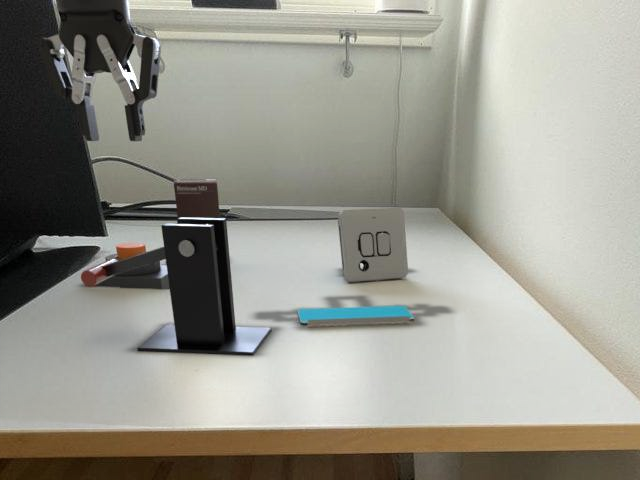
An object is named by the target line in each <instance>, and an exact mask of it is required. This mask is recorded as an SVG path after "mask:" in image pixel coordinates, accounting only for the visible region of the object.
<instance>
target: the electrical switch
mask: <svg viewBox="0 0 640 480" xmlns="http://www.w3.org/2000/svg"><path fill="white" fill-rule="evenodd" d="M337 217H338V219H337V225H338V227H337V228H338V236H339V238H338V239H339V247H340V257H341V268H342V278H343V279H344V280H345V282H347V283H361V282H362V283H363V282H372V281H373V282H374V281H386V280H398V279H404V278H406V277H407V276H408V274H409V265H408V264H409V263H408V250H407V235H406V221H405V220H406V219H405V212H404V209H403V208H401V207H387V208H386V207H385V208H383V207H382V208H365V209H363V208H362V209H343V210H341V211H340V212H339V213H338V215H337ZM361 264H362V266H361ZM361 267H362V268H361Z"/></svg>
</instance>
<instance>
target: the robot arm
mask: <svg viewBox="0 0 640 480" xmlns="http://www.w3.org/2000/svg"><path fill="white" fill-rule="evenodd" d="M55 5H56V10H57V13H58V17H59V21H60V23H59V28H58V33H57V34H55V35H52V36H48V37H41V36H40V37H37V39H36V42H35V43H36V47H37V50H38V52H39V54H40V57H41V59H42V62H43V64H44V67H45V69H46V72H47V74H48V77H49V79H50V82H51V84H52V87H53V90H54V91H55V94H56V96H57V97H59V98H61V99H66V100H68V101H71V102H72V103H73V104H74V107H75V111H76V116H77V121H78V127H79V128H78V129H79V132H80V134H81V136H84V138H85V140H86V142H97V141H99V140H100V134H99V129H98V123H97V116H96V110H95V105H93V104H92V103H91V102H92V98H93V89H94V85H95V84H96V80H97V74H102V73H110V74H111V75H112V78H113V80H114V81H115V83H116V84H117V85H118V87H119V90H120V92H121V94H122V97H123V99H124V101H125V103H126V104H125V105H124V112H125V113H124V114H125V118H126V119H125V120H126V127H127V132H128V133H127V134H128V139H129V141H130V142H142V140H143V136H145V135H146V123H145V118H144V117H145V116H144V111H143V106H144V103H145V102H146V101H149V100H151V99H155V98H156V97H157V95H158V86H159V85H158V84H159V75H160V66H161V65H160V63H161V52H162V43H161V41H160V40H159V39H157V38H154V37H150V36H142V35H139V34H137V33H136V31H135V29H134V27H133V25H132V22H131V15H130V4H129V0H55ZM64 47H65V49H66V50H67V51H68V53H69V55H71V57H72V58H73V60H72V68H71V77H70V73H69V71H68V69H67V66H66V63H65V61H64V57H65V51H64ZM135 48H136V50H137V51H136V52H137V55H138V57H139V58H140V70H139V71H140V72H139V82H138V83H137V78H136V75H135V73H134V70H133V67H132V66H131V63H130V61H129V60H130V57H131V55H132V54H133V51H134V49H135Z"/></svg>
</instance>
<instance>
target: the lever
mask: <svg viewBox="0 0 640 480" xmlns="http://www.w3.org/2000/svg"><path fill="white" fill-rule="evenodd" d="M205 225H210V224H209V223H208V224H205ZM215 244H216V251H218V250H219V248H218V245H217V242H216V240H215ZM164 260H166V257H165V250H164V246H161V247H158V248H155V249H151V250H148V251H146V252H145V253H142V254H138V255H135V256H132V257H129V258H126V259H122V260H119V261H117V260H115V259H110V260H108V261H106V260H105V261H103V262H101V263H99V264H96V265H94V266H92V267H90V268H88V269H85V270H83V271H82V273H81V274H80V280H81V282H82V283H83V285H84V286H85V287H91V288H92V287H95V286H94V285H96V284H98V283H100V282H102V281H104V280H106V279H108V278H110V277H112V276H114V275H116V274H119V273H122V272H125V271H128V270H132V269H135V268H138V267H141V266H145V265H148V264H151V263H154V262H158V261H160V262H161V261H164Z"/></svg>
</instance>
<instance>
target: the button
mask: <svg viewBox="0 0 640 480" xmlns="http://www.w3.org/2000/svg"><path fill="white" fill-rule="evenodd" d="M115 249H116V253H117V256H118V259H126V258H129V257H132V256H135V255H138V254H142V253H145V252H147V248H146V244H145V243H142V242H141V243H140V242H126V243H120V244H116V245H115Z"/></svg>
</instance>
